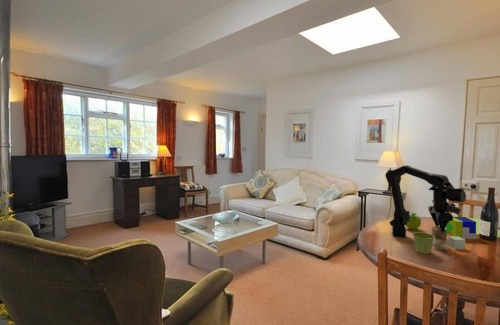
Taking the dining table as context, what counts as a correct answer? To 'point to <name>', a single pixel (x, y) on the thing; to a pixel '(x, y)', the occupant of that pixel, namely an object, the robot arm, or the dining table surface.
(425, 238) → the plant pot
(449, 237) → the sage block
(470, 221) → the puzzle toy
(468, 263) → the dining table surface
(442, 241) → the oak block
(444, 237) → the walnut block
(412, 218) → the fruit
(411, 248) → the dining table surface
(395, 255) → the dining table surface
